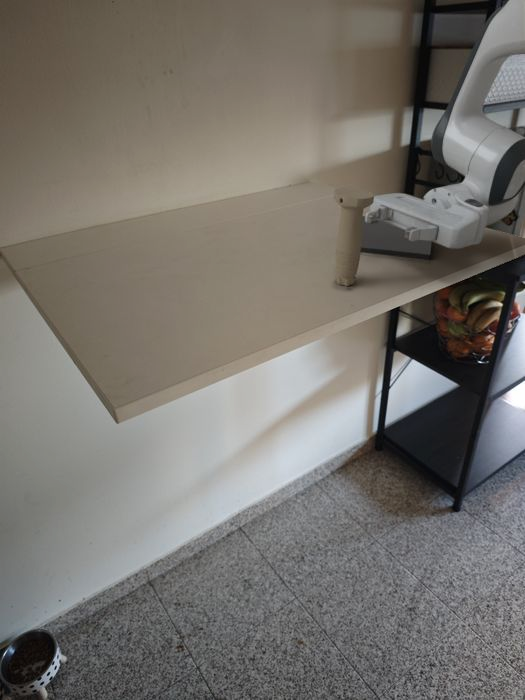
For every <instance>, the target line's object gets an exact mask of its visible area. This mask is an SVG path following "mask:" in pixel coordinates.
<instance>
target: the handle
mask: <svg viewBox="0 0 525 700" xmlns="http://www.w3.org/2000/svg"><path fill="white" fill-rule="evenodd" d="M374 196H375V194H374V193H373V192H371V191H369V190H366V189H363V188H359V187H353V186H341V187H338V188H335V189H334V190H333V198H334V201H335V202H336V203H337V204H338V205H339V206H340V207H341V208H340V209H341V210H340V211H341V212H340V220H339V227H338V235H337V240H336V247H335V263H334V265H335V280H336V283H337V284H338V285H341V286H345V287H349V286H351V285H354V284H355V283H356V279H357V277H356V275H357V273H358V270H359V265H360V260H361V259H360V258H361V253H362V252H361V234H362V216H364V215H363V214H364V209H366V208H368V207H370V205H371V204H373V201H374Z"/></svg>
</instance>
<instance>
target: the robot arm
mask: <svg viewBox="0 0 525 700" xmlns="http://www.w3.org/2000/svg"><path fill="white" fill-rule="evenodd" d="M519 55H520V56H521V55H525V0H508V1H507V2H506V4H505V5H504V6H500V7H498V8H497V9H496V10H494V11H493V12H492V14H491V15H490V16H489V17H488V19H487V20H486V22H485V23H484V25H483V27H482V29H481V31H480V32H479V34H478V37H477V39H476V41H475V43H474V45H473V47H472V50H471V52H470V54H469V56H468V58H467V60H466V63H465V66H464V68H463V69H462V72H461V75H460V77H459V80H458V82H457V84H456V85H455V89H454V91H453V93H452V96H451V98H450V100H449V103H448V105H447V106H446V109H445V110H444V112H443V114H442V115H441V117H440V119H439V120H438V122H437V123H436V125H435V127H434V129H433V132H432V135H431V139H430V140H431V141H430V147H431V155H432V157H433V159H434V160H435V162H437V163H439V164H441V165H443V166H445V167H447V168H449V169H452V170H454V171H456V172H457V173H458V174H460V175H462V176H463V177H464V179H463V181H462V182H459V183H454V184H448V185H445V186H439V187H436V188H435V187H434V188H432V189H430V190H429V191H427V192H426V193H425V194H424V196H423V197H422V198H419V197H417V196H414V195H411V194H407V193H403V192H402V193H401V192H392V193H385V194H378V195H374V201H373V204H371V205H370V206H369V211H366V213H365V215H364V216H365V222H367V223H369V224H376V223H378V220H381V221H383V222H386V223H388V224H391V225H393V226H396V227H398V228H400V229H403V230H405V236H404V238H405V239H407V240H409V241H412V242H413V241H416V240H426V241H432V243H435V244H437V245H440V246H443V247H445V248H447V249H452V250H453V249H454V250H457V249H463V248H468V247H470V246H476V245H479V244H481V242H482V239H483V237H484V234H485V230H486V227H488V226H490V225H493V224H495V223H497V222H499V221H500V220H502V219H504V218H505V217H507V216H508V215H509V214H510V213H512V212H513V211H514V210H515V207H516V206H517V204H518V202H519V197H520V192H521V191H522V190H523V189H524V187H525V136H523V135H521V134H520V133H518V132H516V131H514V130H512V129H510V128H509V127H506V126H503V125H501V124H500V123H497V122H496V121H494V120H493V119H490V118H489V117H487V116H486V114H485V113H484V110H483V105H484V103H485V100H486V99H487V96H488V94H489V93H490V91H491V88H492V86H493V85H494V83H495V80H496V79H497V76H498V74H499V73H500V70H501V68H502V66H503V65H504V64H505V62H506V61H507V60H508V59H509V58H510V57H512V56H519Z"/></svg>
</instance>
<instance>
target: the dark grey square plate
mask: <svg viewBox="0 0 525 700" xmlns="http://www.w3.org/2000/svg"><path fill="white" fill-rule="evenodd" d="M404 236H405V230H403V229H400V228H398V227H396V226H393V225H391V224H388V223H386V222H383V221H381V220H378V223H376V224H369V223H367V222H365V215H363V216H362V234H361V253H368V254H375V255H376V254H377V255H383V256H384V255H385V256H394V257H402V258H411V259H417V260H418V259H419V260H428V261H429V260H430V258H431V252H432V243H433V242H432V241H426V240H416V241H413V242H412V241H409V240H407V239H405V238H404Z"/></svg>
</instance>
